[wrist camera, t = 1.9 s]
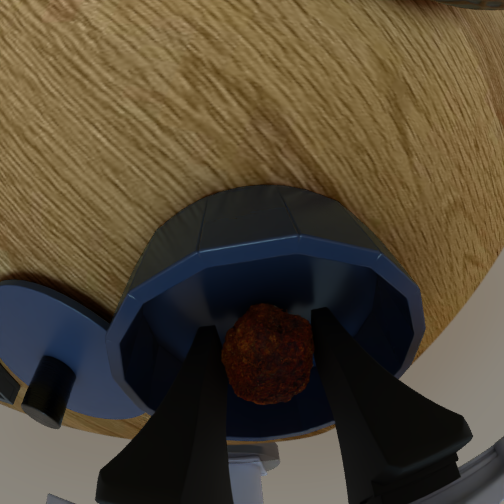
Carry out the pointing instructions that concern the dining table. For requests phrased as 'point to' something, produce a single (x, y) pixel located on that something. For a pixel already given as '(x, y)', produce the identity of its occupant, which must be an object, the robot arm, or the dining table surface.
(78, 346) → the tin lid
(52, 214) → the dining table surface
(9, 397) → the tray
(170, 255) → the tin
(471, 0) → the vase
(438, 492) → the robot arm
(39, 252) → the dining table surface
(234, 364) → the meatball
